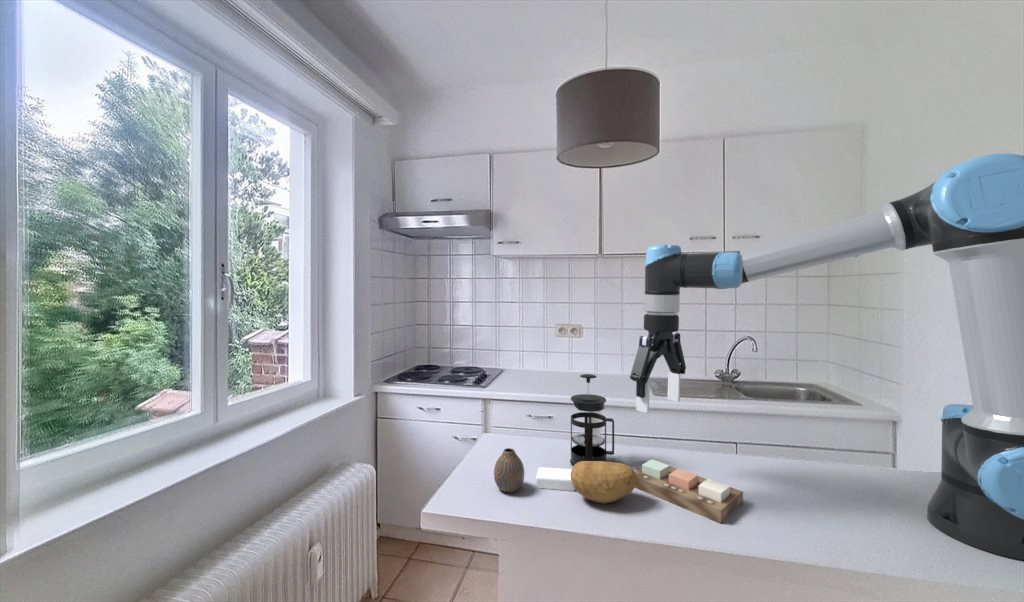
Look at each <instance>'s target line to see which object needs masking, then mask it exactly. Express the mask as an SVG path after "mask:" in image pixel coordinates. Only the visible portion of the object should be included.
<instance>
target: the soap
mask: <svg viewBox="0 0 1024 602" xmlns="http://www.w3.org/2000/svg"><path fill="white" fill-rule="evenodd" d="M571 471H572V469H569V468H568V469H567V468H557V467H556V468H555V467H542V466H541V467H538V469H537V473H536V477H535V486H536V489H541V488H545V489H544V490H554V489H556V490H557V491H566V490H567V491H566V492H575V491H577V490H576V488H575V487H574V485H573V483H572V481H571Z"/></svg>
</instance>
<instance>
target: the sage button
mask: <svg viewBox="0 0 1024 602" xmlns="http://www.w3.org/2000/svg"><path fill="white" fill-rule="evenodd" d="M670 466H671V465H669V464H667V463H664V462H661V461H658V460H655V459H650V460H648V461H646V462H644V463H642V464H641V468H642V473H644V474H647V475H650V476H652V477H655V478H657V479H662V478H664V477H665V476H667V475H669V474H670Z"/></svg>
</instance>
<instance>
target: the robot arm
mask: <svg viewBox="0 0 1024 602" xmlns="http://www.w3.org/2000/svg"><path fill="white" fill-rule="evenodd" d="M930 245H931V247H932V251H933V255H935V256H937V257H939V258H940V259H942V260H945V261H946V262H947V263H948V266H949V272H950V278H951V283H952V284H951V285H952V291H953V294H954V295H953V296H954V302H955V308H956V314H957V318H958V319H957V320H958V324H959V330H960V336H961V343H962V349H963V355H964V360H965V365H966V371H967V378H968V384H969V389H970V396H971V402H972V405H971V404H963V403H962V404H960V403H959V404H958V403H957V404H956V403H952V404H951V403H950V404H946V405H945V406H944V407H943V409H942V415H941V417H940V421H941V463H940V464H941V465H940V466H941V469H940V470H941V471H940V472H941V475H940V477H941V478H940V479H941V480H940V482H939V484H938V486H937V488H936V489H935V491H934V493H933V495H932V497H931V499H930V500H929V502H928V504H927V508H926V509H927V510H926V511H927V512H926V513H927V515H926V518H927V520H928V521H929V523H930V524H931V525H932V526H933V527H935V528H936V529H937V530H939V531H940V532H942V533H944V534H945V535H947V536H949V537H951V538H953V539H955V540H957V541H959V542H962V543H964V544H967V545H969V546H972V547H974V548H978V549H980V550H982V551H986V552H989V553H991V554H996V555H999V556H1003V557H1006V558H1011V559H1014V560H1015V559H1016V560H1021V561H1024V155H1022V154H1019V153H1018V154H1017V153H1016V154H1015V153H993V154H986V155H982V156H979V157H975V158H972V159H969V160H967V161H965V162H962V163H959V164H957V165H955V166H953V167H951V168H949V169H947V171H945V172H944V173H943V174H942V175H941V176H940V177H938V179H937V180H936V181H934V182H933V183H931V184H930V185H928V186H927V187H925V188H922V189H921V190H919V191H917V192H914V193H913V194H911V195H908V196H906V197H903V198H899V199H897V200H894V201H891V202H887V203H885V204H884V205H883V207H882V208H881V209H880V210H877V211H874V212H872V213H868V214H863V215H861V216H856V217H853V218H850V219H847V220H843V221H839V222H836V223H832V224H829V225H826V226H822V227H819V228H815V229H812V230H809V231H804V232H801V233H798V234H794V235H791V236H787V237H784V238H780V239H777V240H773V241H769V242H766V243H762V244H759V245H755V246H751V247H749V248H745V249H741V250H738V251H734V252H725V251H720V252H707V253H705V252H704V253H683V251H682V248H681V247H682V246H680V245H677V244H657V245H651V246H649V247H648V248H647V249H646V252H645V253H646V255H645V264H644V272H645V273H644V300H643V301H644V312H646V313H645V314H644V315H643V329H644V330H645V331H647V332H648V336H643V335H640V336H639V342H638V348H637V351H636V355H635V358H634V362H633V365H632V367H631V368H632V369H631V371H630V375H629V378H630V380H631V381H634V382H635V383H636V390H635V393H636V394H635V395H636V399H635V401H636V403H635V406H636V407H635V410H636V411H638V412H641V413H645V414H649V413H650V391H651V390H650V389H651V387H650V385H651V383H650V382H648V381H649V379H650V376H651V373H652V371H653V370H654V367H655V364H656V362H657V361H658V359H659V358H661V357H662V356H663V357H664V361H665V362H666V364H667V367H668V369H669V371H670V372H668V373H667V400H668V401H672V402H677V403H678V402H679V403H680V402H681V400H680V399H681V376H682V375H685V374H686V369H687V366H686V361H685V357H684V356H685V355H684V352H683V347H682V343H681V333H680V332H679V333H678V331H679V327H680V317H679V314H678V313H680V300H681V299H680V298H681V296H680V295H681V294H680V293H681V292H680V290H681V289H682V288H683V289H688V288H690V289H692V288H693V289H716V290H727V289H737V288H739V287H740V286H742V285H743V284H745V283H749V282H750V283H751V282H753V281H757V280H761V279H766V278H770V277H774V276H778V275H782V274H786V273H790V272H795V271H799V270H802V269H803V270H804V269H806V268H807V269H808V268H811V267H816V266H820V265H824V264H828V263H832V262H836V261H840V260H841V261H842V260H845V259H849V258H853V257H858V256H862V255H866V254H869V253H870V254H871V253H874V252H877V251H879V252H880V251H882V250H886V249H892V248H893V249H896V250H899V251H904V250H908V249H909V250H910V249H913V248H919V247H924V246H930Z"/></svg>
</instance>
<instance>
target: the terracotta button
mask: <svg viewBox="0 0 1024 602" xmlns="http://www.w3.org/2000/svg"><path fill="white" fill-rule="evenodd" d="M698 476H699V475H698V474H696V473H694V472H693V473H692V472H690V471H686V470H684V469H681V468H677V470H675V471H673V472H672V473H670V474H669V483H671V484H673V485H676V486H678V487H681V488H684V489H686V490H691V489H692V488H694V487H695V486H696V485H698Z"/></svg>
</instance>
